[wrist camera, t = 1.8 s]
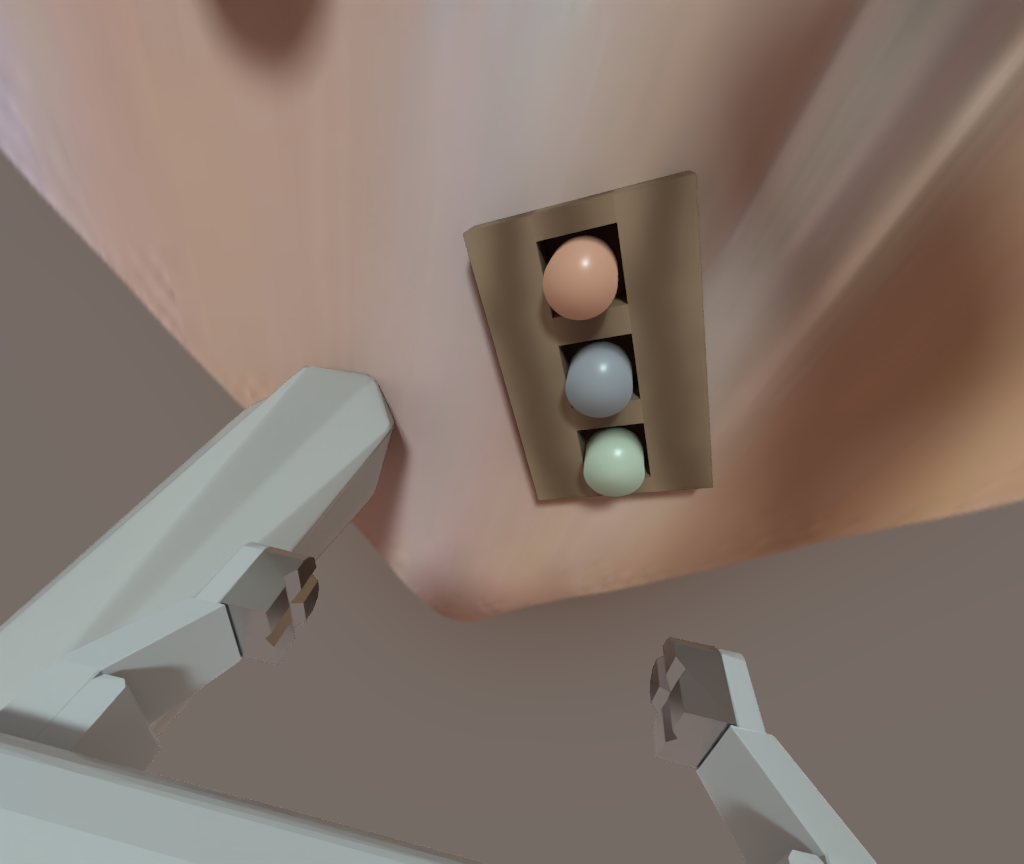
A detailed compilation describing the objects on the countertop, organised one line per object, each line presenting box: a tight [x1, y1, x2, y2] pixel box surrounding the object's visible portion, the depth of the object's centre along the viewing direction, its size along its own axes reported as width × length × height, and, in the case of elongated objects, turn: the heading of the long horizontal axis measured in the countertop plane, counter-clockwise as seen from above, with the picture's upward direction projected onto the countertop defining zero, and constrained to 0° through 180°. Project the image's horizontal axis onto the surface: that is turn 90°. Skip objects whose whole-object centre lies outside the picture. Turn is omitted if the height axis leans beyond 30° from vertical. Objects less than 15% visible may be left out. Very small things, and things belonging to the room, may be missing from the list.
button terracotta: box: [543, 235, 618, 320], centre depth 29 cm, size 4×4×3 cm
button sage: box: [583, 427, 645, 497], centre depth 36 cm, size 4×4×3 cm
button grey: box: [565, 341, 633, 418], centre depth 32 cm, size 4×4×3 cm
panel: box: [463, 170, 713, 500], centre depth 34 cm, size 14×22×3 cm, turn 15°
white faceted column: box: [0, 366, 394, 737], centre depth 29 cm, size 12×12×33 cm
